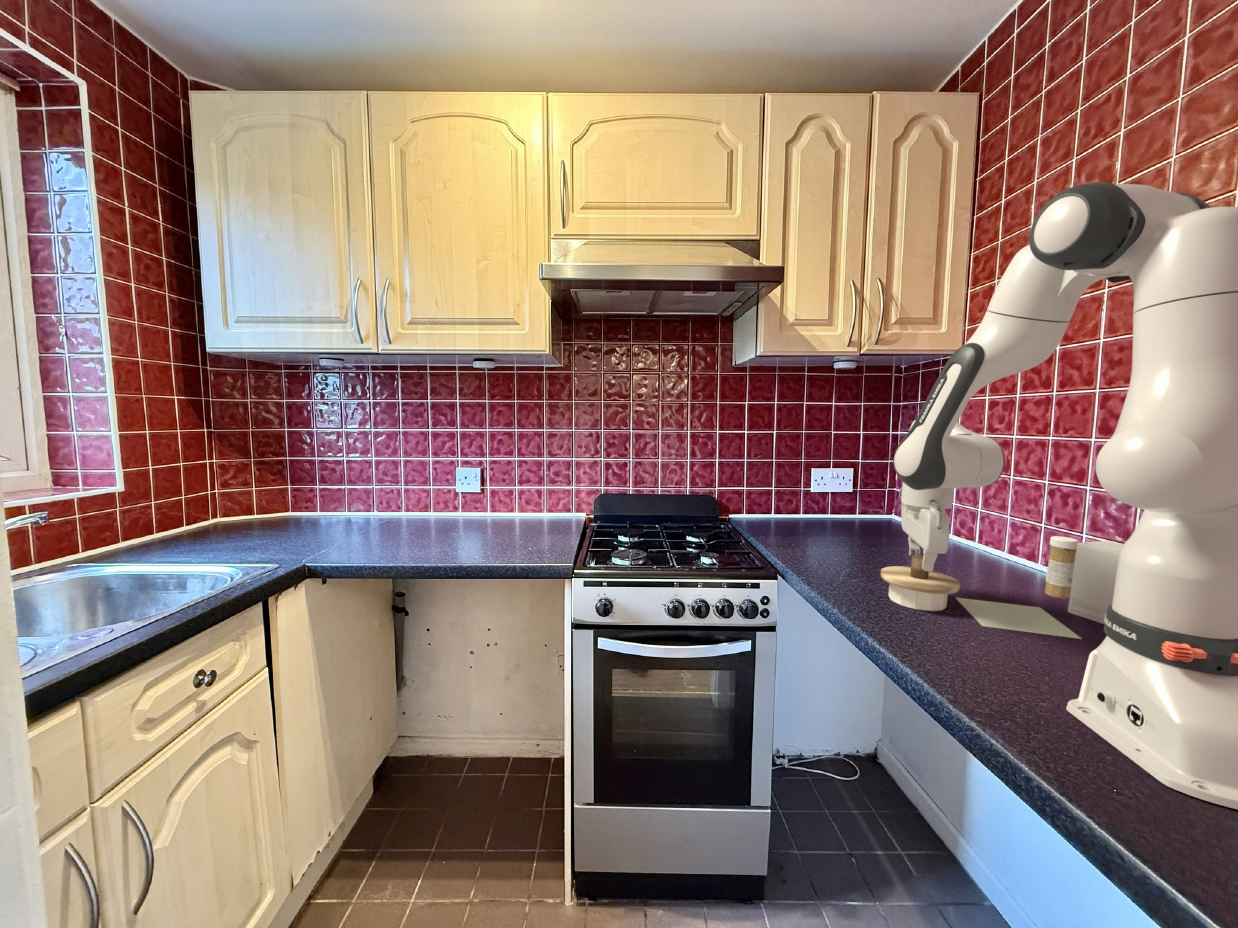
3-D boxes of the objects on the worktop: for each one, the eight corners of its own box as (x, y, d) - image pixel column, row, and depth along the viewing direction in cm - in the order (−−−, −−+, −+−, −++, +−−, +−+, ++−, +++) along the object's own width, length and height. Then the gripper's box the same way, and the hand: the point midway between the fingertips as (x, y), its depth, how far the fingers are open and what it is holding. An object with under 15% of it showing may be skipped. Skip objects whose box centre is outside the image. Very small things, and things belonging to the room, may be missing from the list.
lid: (970, 597, 96) (973, 572, 95) (888, 588, 100) (890, 563, 99) (946, 575, 109) (948, 552, 108) (874, 567, 113) (876, 545, 112)
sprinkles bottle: (1054, 593, 114) (1061, 535, 112) (1076, 601, 109) (1084, 540, 108) (1037, 595, 113) (1045, 535, 111) (1059, 602, 108) (1067, 541, 107)
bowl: (952, 617, 99) (954, 592, 98) (894, 610, 102) (896, 586, 101) (936, 599, 108) (938, 576, 108) (884, 593, 111) (886, 571, 111)
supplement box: (1121, 634, 93) (1132, 554, 92) (1065, 615, 102) (1075, 542, 100) (1152, 628, 96) (1163, 551, 94) (1095, 610, 105) (1104, 539, 103)
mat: (1081, 642, 89) (1082, 638, 89) (981, 629, 93) (982, 625, 93) (1039, 611, 103) (1039, 607, 103) (954, 601, 108) (955, 597, 108)
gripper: (962, 506, 92) (955, 581, 93) (930, 490, 111) (924, 552, 113) (923, 504, 93) (916, 577, 95) (897, 488, 113) (892, 549, 114)
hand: (920, 563), depth 104 cm, fingers open, 8 cm apart
